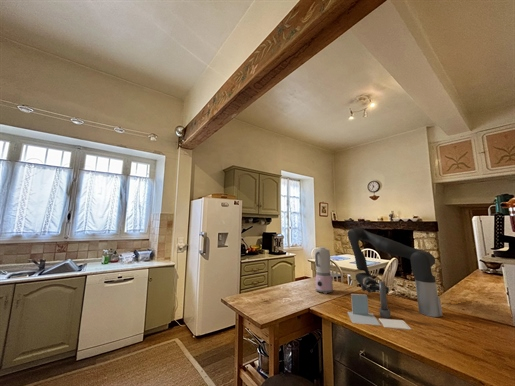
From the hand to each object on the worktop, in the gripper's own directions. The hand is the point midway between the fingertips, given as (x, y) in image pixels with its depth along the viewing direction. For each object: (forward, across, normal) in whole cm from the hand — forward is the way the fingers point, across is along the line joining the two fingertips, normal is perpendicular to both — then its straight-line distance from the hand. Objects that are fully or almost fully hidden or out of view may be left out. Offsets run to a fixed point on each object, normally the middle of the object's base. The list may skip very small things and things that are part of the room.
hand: (378, 291), depth 120 cm
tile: (+8, -12, +10) cm, 17 cm away
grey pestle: (+8, 0, +11) cm, 13 cm away
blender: (-30, -29, +11) cm, 43 cm away
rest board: (+17, +1, +11) cm, 20 cm away
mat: (+13, -12, +10) cm, 20 cm away
